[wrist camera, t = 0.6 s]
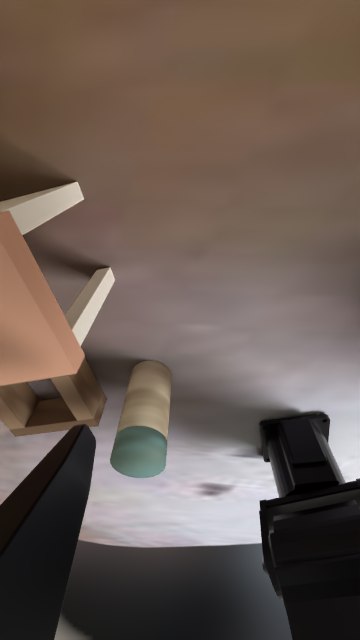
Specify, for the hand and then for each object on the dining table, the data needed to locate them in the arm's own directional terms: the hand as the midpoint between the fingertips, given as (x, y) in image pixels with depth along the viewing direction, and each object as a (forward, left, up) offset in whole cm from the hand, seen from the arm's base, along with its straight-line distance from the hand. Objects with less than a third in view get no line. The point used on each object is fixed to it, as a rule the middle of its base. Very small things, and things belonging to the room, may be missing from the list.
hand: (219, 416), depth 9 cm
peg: (-9, +6, -12) cm, 17 cm away
